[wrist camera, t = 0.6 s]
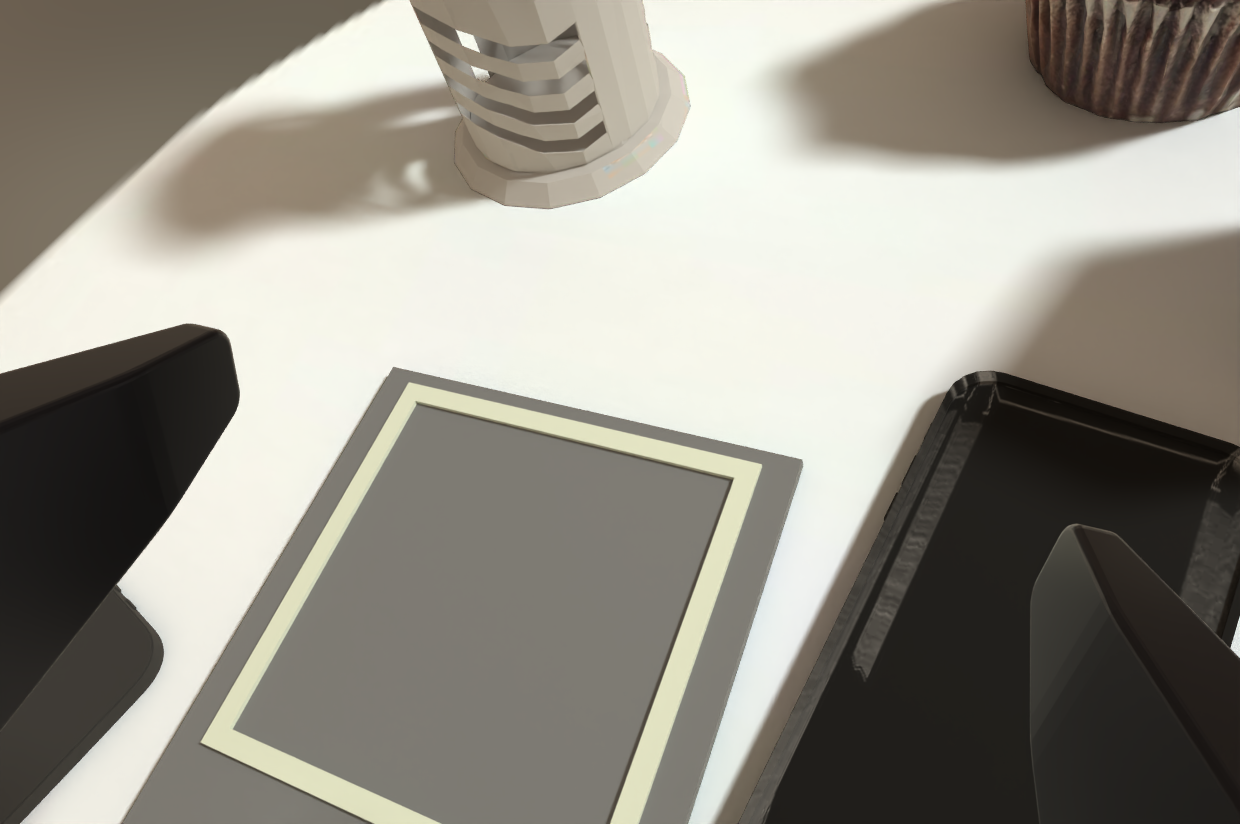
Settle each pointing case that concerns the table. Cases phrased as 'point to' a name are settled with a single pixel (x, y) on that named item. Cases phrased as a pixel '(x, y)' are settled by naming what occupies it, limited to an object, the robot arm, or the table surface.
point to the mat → (488, 625)
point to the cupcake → (1139, 56)
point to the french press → (555, 96)
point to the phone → (76, 703)
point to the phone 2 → (988, 602)
